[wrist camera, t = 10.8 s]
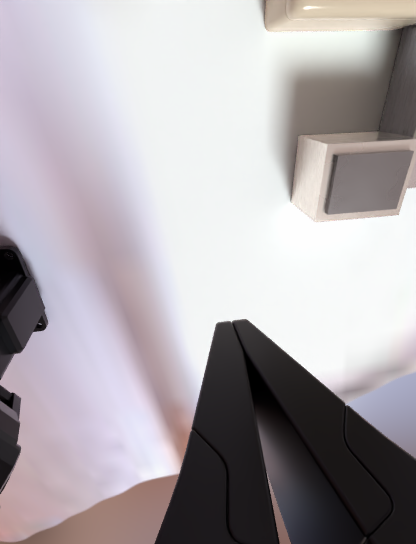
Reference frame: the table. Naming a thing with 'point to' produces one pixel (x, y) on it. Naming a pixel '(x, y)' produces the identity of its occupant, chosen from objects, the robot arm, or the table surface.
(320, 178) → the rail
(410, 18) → the electrical outlet
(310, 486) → the robot arm
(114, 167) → the table surface
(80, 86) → the table surface
